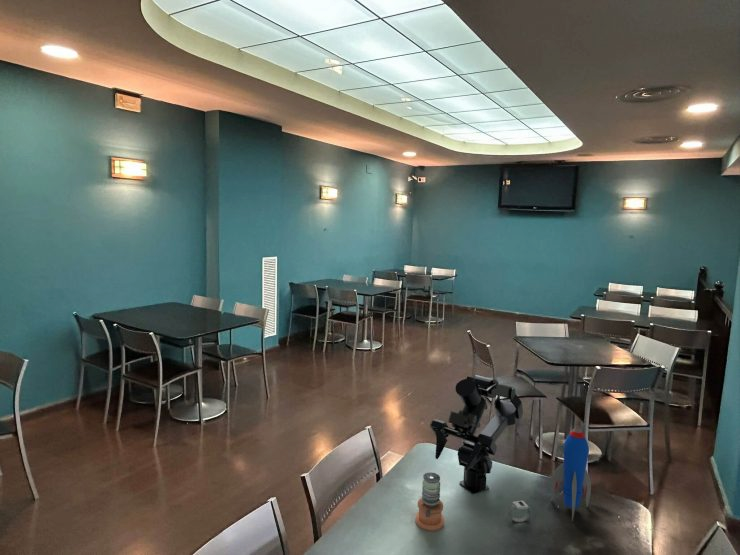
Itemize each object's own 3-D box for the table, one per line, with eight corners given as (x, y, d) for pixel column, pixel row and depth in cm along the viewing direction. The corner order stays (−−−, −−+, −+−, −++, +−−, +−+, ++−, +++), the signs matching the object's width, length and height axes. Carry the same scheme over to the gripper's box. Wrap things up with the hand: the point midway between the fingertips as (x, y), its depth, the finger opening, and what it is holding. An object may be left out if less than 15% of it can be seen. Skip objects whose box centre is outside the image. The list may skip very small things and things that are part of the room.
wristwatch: (511, 525, 121) (512, 508, 120) (506, 518, 123) (507, 501, 123) (532, 523, 122) (533, 505, 121) (526, 516, 124) (528, 499, 124)
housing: (426, 509, 126) (427, 491, 126) (449, 521, 121) (450, 503, 121) (409, 521, 121) (410, 503, 120) (433, 535, 116) (434, 516, 115)
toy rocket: (589, 506, 130) (596, 422, 127) (596, 527, 121) (604, 438, 118) (548, 499, 133) (555, 417, 130) (552, 519, 123) (559, 432, 121)
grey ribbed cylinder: (428, 496, 124) (429, 470, 123) (442, 503, 121) (444, 476, 120) (418, 503, 120) (419, 476, 120) (432, 511, 117) (434, 484, 116)
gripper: (435, 391, 133) (412, 440, 125) (495, 409, 121) (474, 463, 114) (446, 410, 140) (425, 457, 132) (504, 428, 128) (485, 481, 120)
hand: (450, 464), depth 124 cm, fingers open, 9 cm apart
